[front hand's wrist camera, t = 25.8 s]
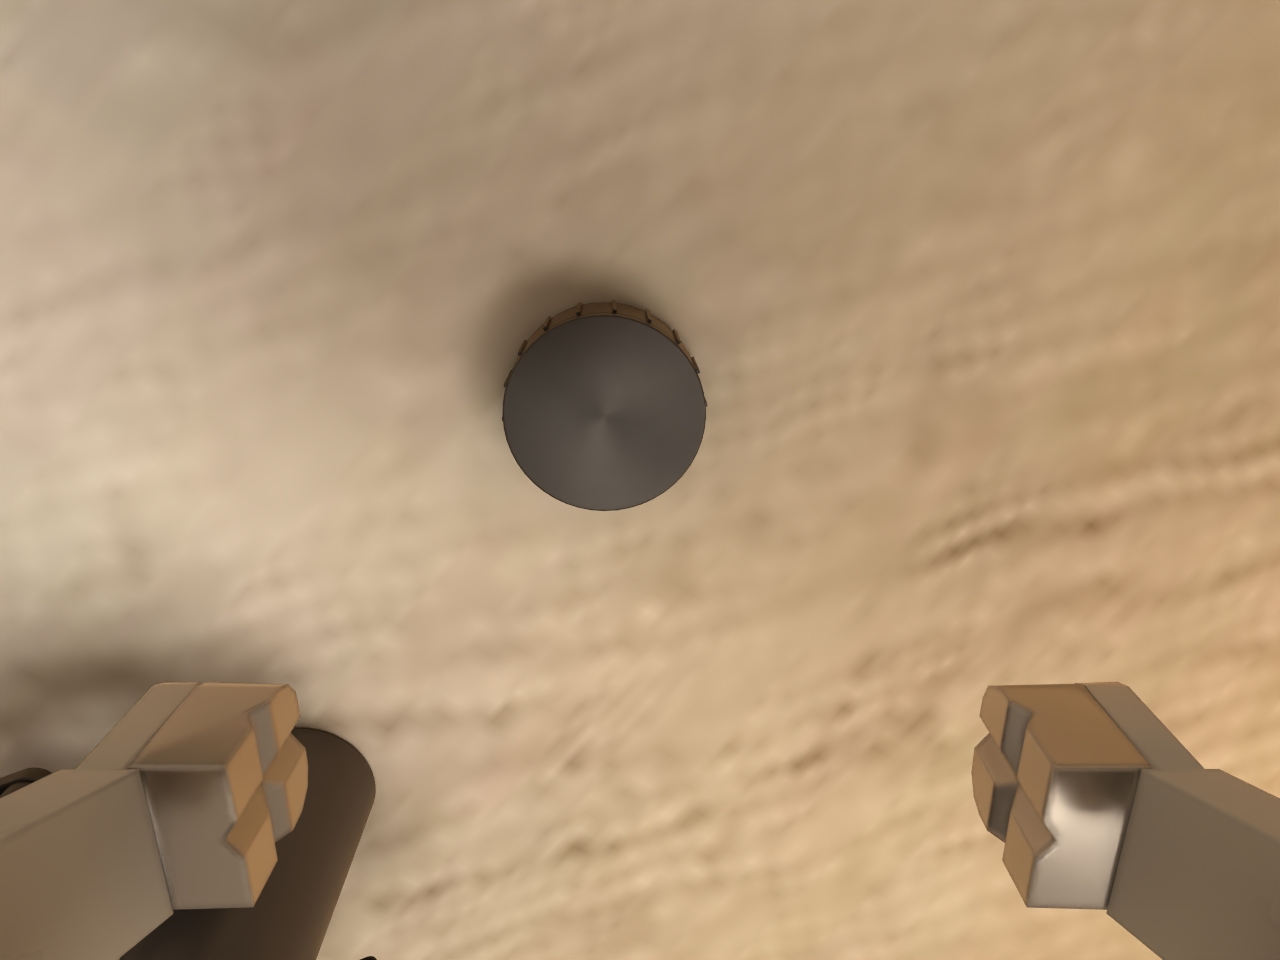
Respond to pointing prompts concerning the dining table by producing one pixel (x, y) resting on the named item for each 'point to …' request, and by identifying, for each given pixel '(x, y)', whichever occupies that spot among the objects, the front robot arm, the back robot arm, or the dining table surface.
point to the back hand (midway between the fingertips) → (305, 905)
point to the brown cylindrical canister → (285, 873)
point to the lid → (604, 407)
